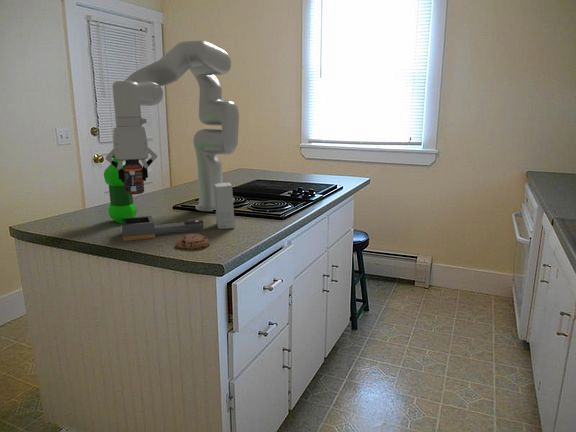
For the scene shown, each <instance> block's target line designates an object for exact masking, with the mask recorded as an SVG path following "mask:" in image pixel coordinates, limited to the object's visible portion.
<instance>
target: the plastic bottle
mask: <svg viewBox="0 0 576 432" xmlns="http://www.w3.org/2000/svg"><path fill="white" fill-rule="evenodd" d="M111 158H112V159H113V160H114V161H115V162H117V163H118V161H119V160H117V159H115V156H114V155H113V156H112V157H111ZM125 163H126V162H125V161H123V164H122V169H123V166H124V165H125ZM103 178H104V182H105V183H106V184H107V185H108V190H109V201H110V204H109V207H108V214H109V217H110V218H111V219H112V220H113V221H114V222H116V223H119V224H120V223H121V224H122V222H121V218H131V217H136V216H137V207H136V205H135V203H134V198H133V195H132V194H126V193H125V188H124V182H122V181H121V179H119V174H118V169H117V168H116V167H115V166H113V165H112V164H111V163H110V164H109V165H108V166H107V167H106V168H105V169H104V172H103Z"/></svg>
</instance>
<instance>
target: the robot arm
mask: <svg viewBox="0 0 576 432" xmlns="http://www.w3.org/2000/svg"><path fill="white" fill-rule="evenodd" d="M231 59H232V58H231V57H230V55H229V53H227V51H225V50H224V49H222V48H221V47H218V46H216V45H214V44H212V43H210V42H208V41H205V40H185V41H180V42H179V43H177V44H175V45H174V46H173V47H172V48H171V49H169V50H168V52H166V53H165V54H164V55H163V56H162V57H161V58H160V59H158V60H157V61H154V62H152V63H150V64H148V65H146V66H144V67H141V68H140V69H137V70H136V71H134V72H132V73H131V74H130V75H129V76H128V77H127V78H125V79H124V80H116V81H114V82H113V84H112V96H113V105H114V117H115V127H113V131H112V144H113V145H112V146H113V148H112V149H111V150H110V152H109V153H108V154H107V155H106V156H105V160H106V161H107V162H108V163H110V164H112V165H113V166H115V167H116V168H117V169H118V174H119V179H121V181H122V182H124V175H123V169H122V164H123V162H125V160H131V159H135V160H139V161H140V162H141V164H142V168H143V180H144V182H146V181H147V179H148V178H149V173H148V168H149V167H150V165H152V164H153V162H154V161H155V160H156V159H157V158H158V155H157V154H156V152H154V151H153V150H152V149H151V148H149V144H148V137H147V133H146V129H145V126H143V125H144V124H147V118H143V117H142V112H141V110H142V109H141V106H143V107H145V106H147V107H151V106H156V105H158V104H160V103H161V102H162V100H163V98H164V91H163V88H162V87H164V86H168V85H171V84H173V83H175V82H177V81H178V80H179V79H181V77H182V76H184V75H185V73H186V72H187V71H189V70H190V72H191V73H192V75H193V76H194V77H195V80H196V81H197V84H198V87H199V88H198V89H199V97H198V98H199V100H198V102H199V103H198V119H199V121H200V123H201V124H203V125H204V126H217V127H219V126H220V127H221V128H219V129H218V128H203V129H199V130H197V131H196V132H195V134H194V135H193V141H192V142H193V147H194V150H195V154H196V155H195V156H196V164H197V182H198V183H197V184H198V185H197V186H198V200H199V201H198V202H199V203H198V204H196V205H195V210H196V211H200V212H214V211H213V210H216V209H215V191H214V184H216V183H223V165H222V161H221V159H220V157H219V155H225V156H226V155H233V154H234V153H235V152H236V151H237V149H238V148H237V147H238V144H239V127H240V125H239V124H240V112H239V108H238V106H237V104H236V103H235V102H234V101H232V100H223V98H222V97H223V95H222V94H223V92H222V91H223V88H222V85H221V82H220V81H219V79H218V78H217V77H216V76H221V75H223V76H224V75H226V74H228V73H229V72H230V70H231V67H232V60H231ZM113 155H114V156H115V159H117V160H119V161H118V163H117V162H115V161H114V160H113V158H111V157H112V156H113ZM149 155H150V158H149ZM146 159H148V160H146ZM233 203H236V199H235V197H233Z"/></svg>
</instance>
